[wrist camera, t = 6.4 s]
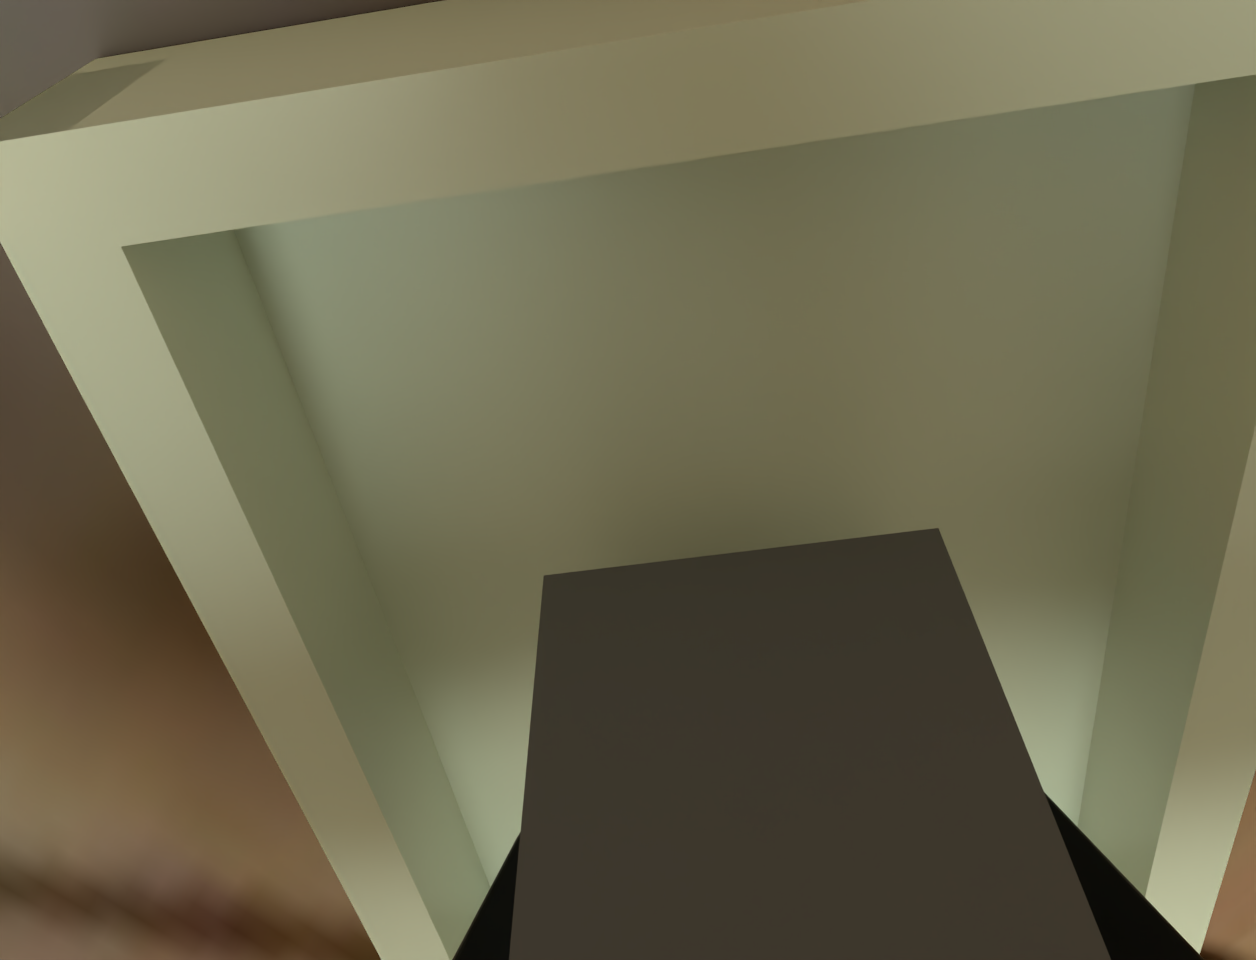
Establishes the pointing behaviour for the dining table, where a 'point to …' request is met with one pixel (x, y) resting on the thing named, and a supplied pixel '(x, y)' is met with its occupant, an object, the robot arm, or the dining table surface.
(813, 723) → the dark gray rectangular block
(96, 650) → the dining table surface
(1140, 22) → the tray
